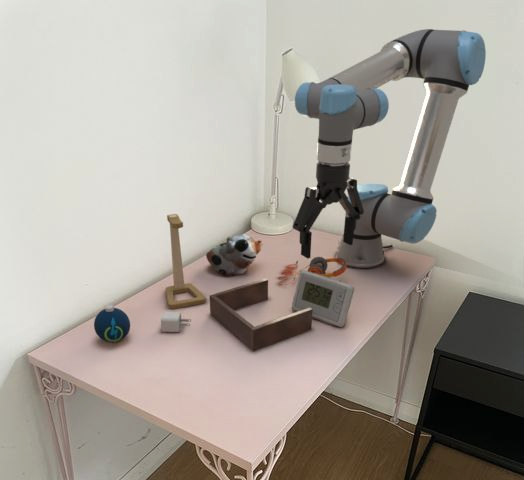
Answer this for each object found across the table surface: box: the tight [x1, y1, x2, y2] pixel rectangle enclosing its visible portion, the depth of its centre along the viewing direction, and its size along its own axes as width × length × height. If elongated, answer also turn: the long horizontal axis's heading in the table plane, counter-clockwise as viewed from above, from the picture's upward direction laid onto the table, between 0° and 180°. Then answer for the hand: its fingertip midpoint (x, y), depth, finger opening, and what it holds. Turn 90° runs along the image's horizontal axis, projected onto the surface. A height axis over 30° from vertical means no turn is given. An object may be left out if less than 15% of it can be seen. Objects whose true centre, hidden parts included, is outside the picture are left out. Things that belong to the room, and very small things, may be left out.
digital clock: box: [291, 269, 355, 328], centre depth 139 cm, size 16×9×11 cm, turn 42°
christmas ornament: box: [93, 304, 131, 343], centre depth 129 cm, size 8×8×10 cm
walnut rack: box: [208, 277, 313, 352], centre depth 138 cm, size 18×20×6 cm
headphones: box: [278, 256, 348, 286], centre depth 160 cm, size 17×5×20 cm
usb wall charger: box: [160, 311, 192, 333], centre depth 135 cm, size 4×7×4 cm, turn 88°
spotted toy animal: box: [205, 234, 264, 277], centre depth 162 cm, size 15×12×14 cm
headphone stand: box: [165, 213, 207, 310], centre depth 144 cm, size 10×11×22 cm
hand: (327, 249), depth 133 cm, fingers open, 13 cm apart
